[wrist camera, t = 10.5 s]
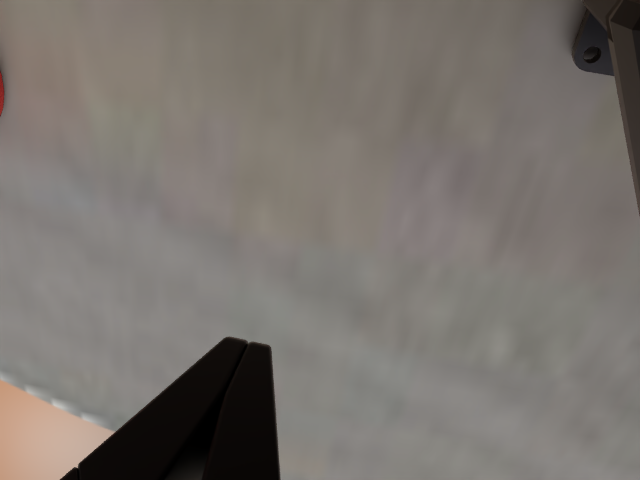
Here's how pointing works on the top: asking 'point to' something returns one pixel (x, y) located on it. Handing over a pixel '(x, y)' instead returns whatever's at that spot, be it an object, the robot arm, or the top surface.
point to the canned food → (1, 94)
